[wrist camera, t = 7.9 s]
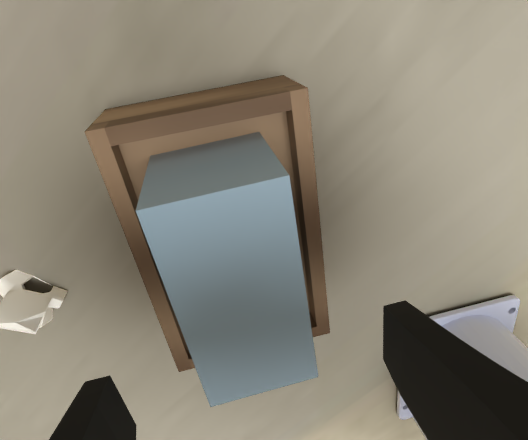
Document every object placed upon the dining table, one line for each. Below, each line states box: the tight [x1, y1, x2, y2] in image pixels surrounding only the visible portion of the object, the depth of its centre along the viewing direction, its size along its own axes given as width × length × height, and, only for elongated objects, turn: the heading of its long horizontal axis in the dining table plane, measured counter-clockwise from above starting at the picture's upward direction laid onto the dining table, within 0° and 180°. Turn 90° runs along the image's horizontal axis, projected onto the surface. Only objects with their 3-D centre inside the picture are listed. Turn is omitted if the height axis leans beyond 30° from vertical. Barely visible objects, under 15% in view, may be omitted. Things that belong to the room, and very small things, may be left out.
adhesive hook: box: [0, 270, 67, 334], centre depth 17 cm, size 3×3×3 cm
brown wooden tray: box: [85, 75, 330, 372], centre depth 16 cm, size 11×7×4 cm, turn 9°
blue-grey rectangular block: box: [136, 132, 318, 407], centre depth 13 cm, size 8×4×4 cm, turn 9°
